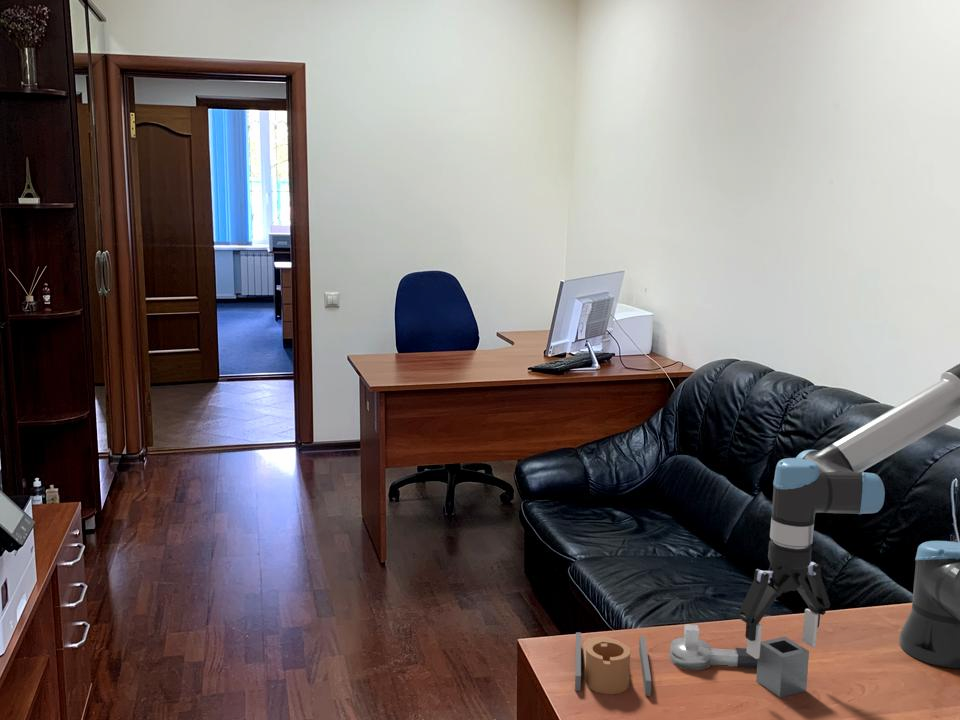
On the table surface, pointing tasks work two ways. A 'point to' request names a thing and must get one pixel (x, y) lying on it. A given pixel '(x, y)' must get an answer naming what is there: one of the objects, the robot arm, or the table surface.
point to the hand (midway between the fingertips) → (781, 649)
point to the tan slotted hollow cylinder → (606, 665)
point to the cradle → (642, 658)
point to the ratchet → (705, 653)
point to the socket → (782, 666)
